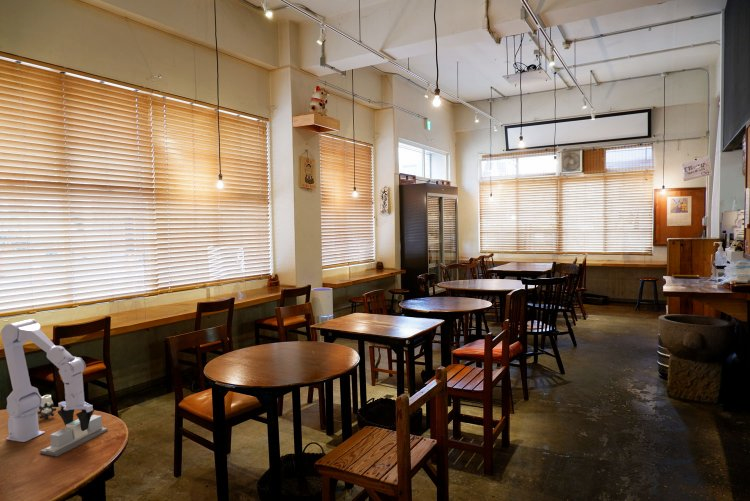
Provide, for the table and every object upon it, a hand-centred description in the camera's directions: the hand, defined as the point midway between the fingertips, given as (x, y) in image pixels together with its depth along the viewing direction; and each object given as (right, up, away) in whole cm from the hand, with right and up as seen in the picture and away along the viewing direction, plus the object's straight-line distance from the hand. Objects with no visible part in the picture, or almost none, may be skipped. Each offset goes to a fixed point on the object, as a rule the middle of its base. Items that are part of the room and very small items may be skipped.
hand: (77, 428), depth 170 cm
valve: (-29, -4, +25) cm, 38 cm away
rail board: (0, -5, -1) cm, 5 cm away
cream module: (0, -3, 0) cm, 3 cm away
